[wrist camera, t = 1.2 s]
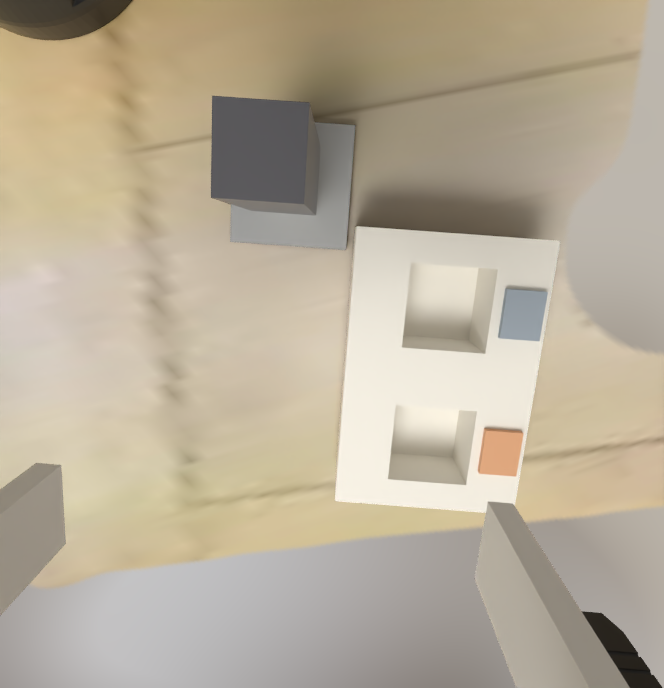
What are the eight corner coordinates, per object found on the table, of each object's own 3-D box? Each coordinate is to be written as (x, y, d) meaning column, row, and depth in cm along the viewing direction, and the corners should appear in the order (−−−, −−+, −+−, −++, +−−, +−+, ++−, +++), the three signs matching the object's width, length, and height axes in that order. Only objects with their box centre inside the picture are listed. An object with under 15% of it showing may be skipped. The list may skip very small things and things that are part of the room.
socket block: (354, 228, 32) (356, 225, 27) (527, 240, 32) (563, 240, 27) (335, 465, 36) (334, 504, 31) (490, 477, 36) (515, 518, 31)
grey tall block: (262, 151, 31) (212, 95, 19) (322, 155, 31) (309, 102, 19) (260, 213, 32) (211, 197, 20) (318, 218, 32) (304, 204, 20)
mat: (235, 119, 31) (233, 116, 30) (355, 127, 31) (355, 125, 30) (232, 241, 33) (230, 241, 32) (345, 249, 33) (345, 250, 32)
